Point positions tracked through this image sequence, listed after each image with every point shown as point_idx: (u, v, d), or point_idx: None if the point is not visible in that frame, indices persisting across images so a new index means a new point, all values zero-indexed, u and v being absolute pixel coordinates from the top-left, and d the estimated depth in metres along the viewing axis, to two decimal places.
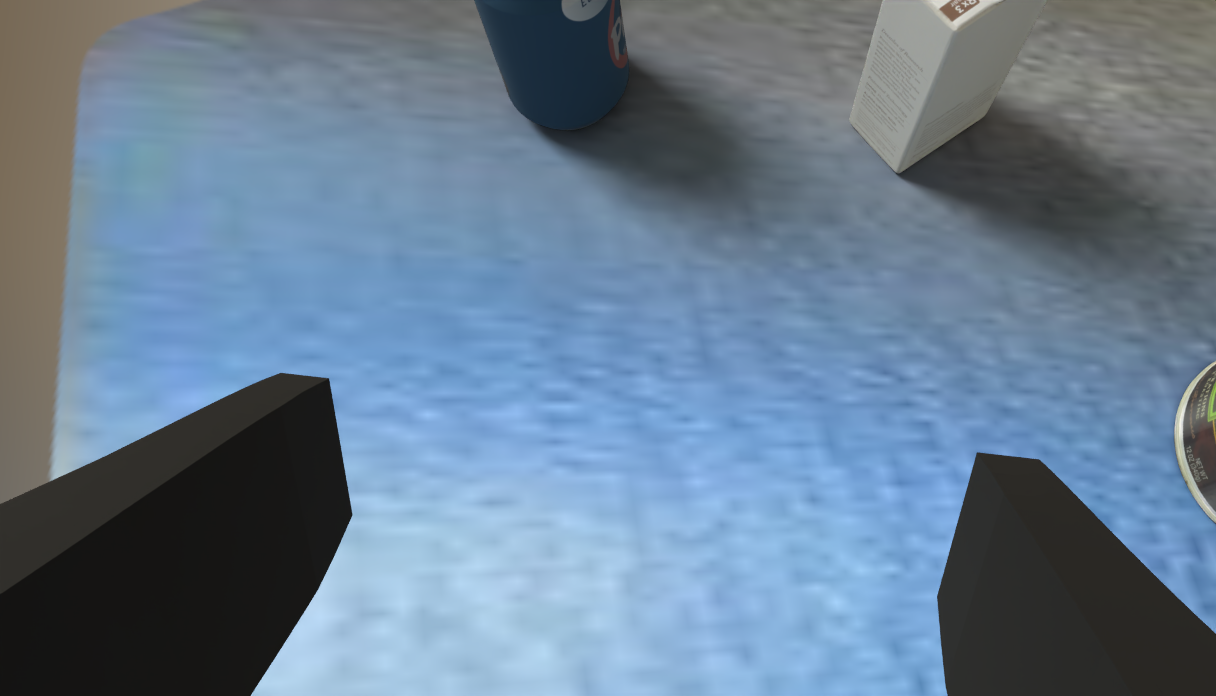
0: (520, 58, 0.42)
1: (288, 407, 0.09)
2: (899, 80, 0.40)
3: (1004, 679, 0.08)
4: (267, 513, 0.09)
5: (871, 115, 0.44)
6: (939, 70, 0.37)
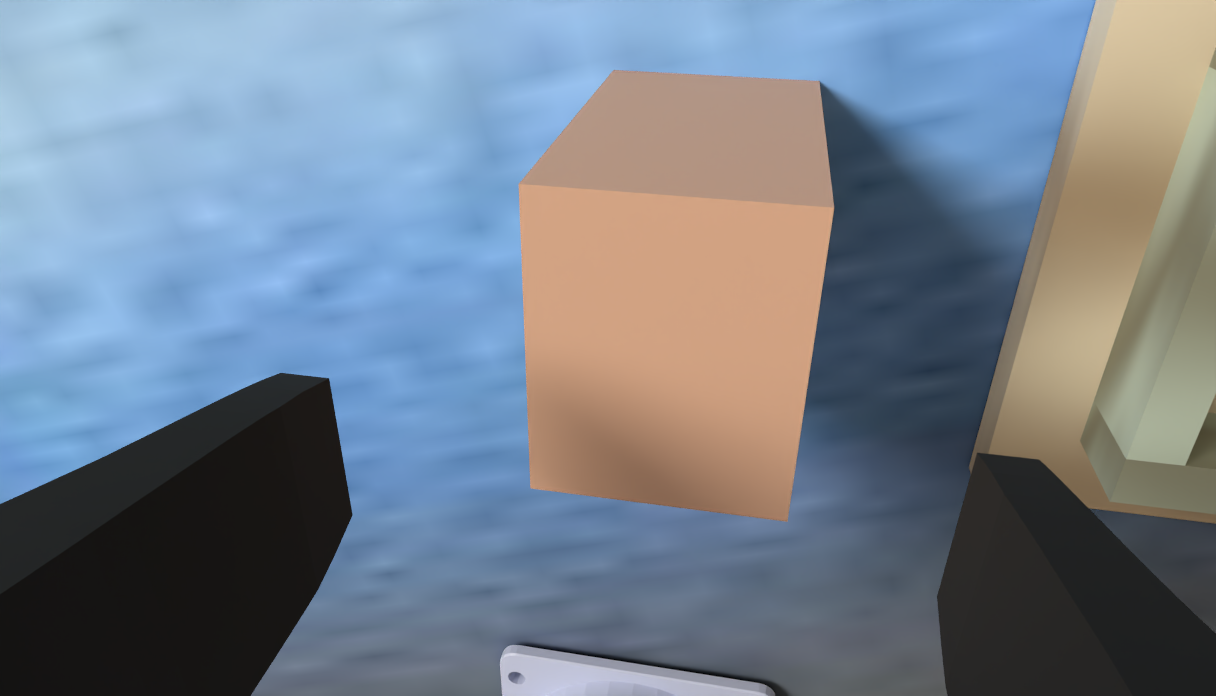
0: None
1: (288, 407, 0.09)
2: None
3: (1004, 679, 0.08)
4: (267, 513, 0.09)
5: None
6: None
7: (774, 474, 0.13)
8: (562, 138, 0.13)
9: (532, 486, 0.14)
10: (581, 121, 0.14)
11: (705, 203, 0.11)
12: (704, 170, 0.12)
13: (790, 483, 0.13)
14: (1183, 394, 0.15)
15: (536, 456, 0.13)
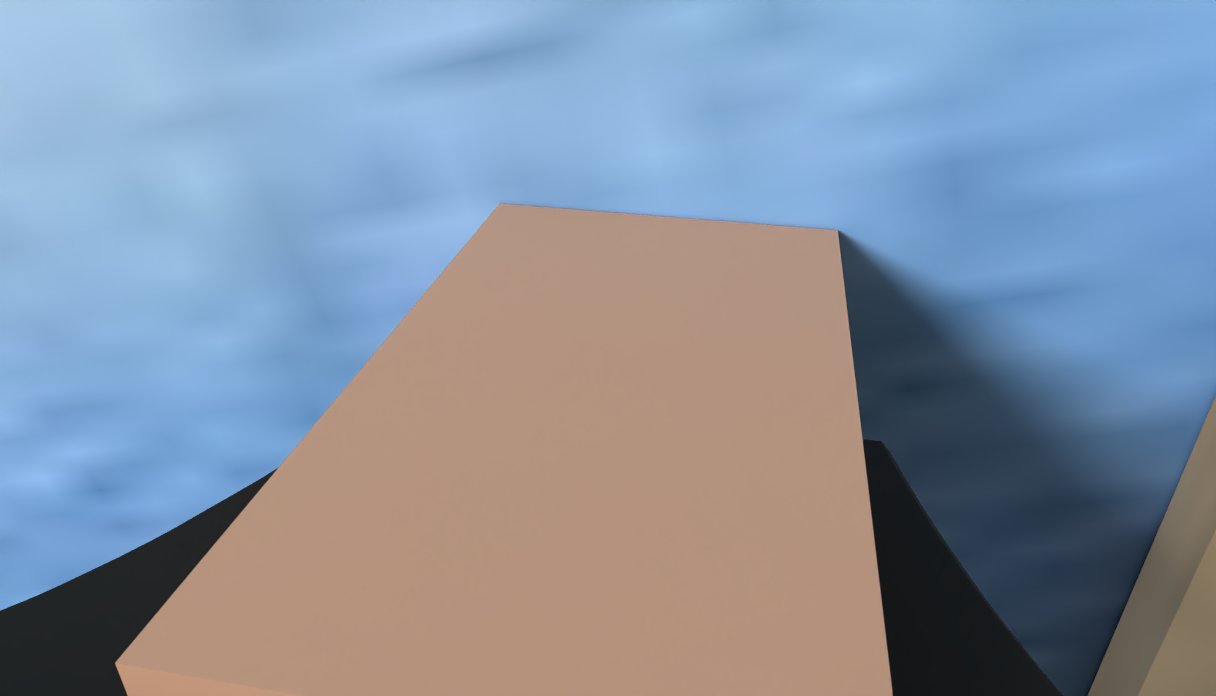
0: None
1: None
2: None
3: None
4: None
5: None
6: None
7: None
8: (320, 432, 0.06)
9: None
10: (384, 366, 0.07)
11: None
12: (587, 576, 0.05)
13: None
14: None
15: None
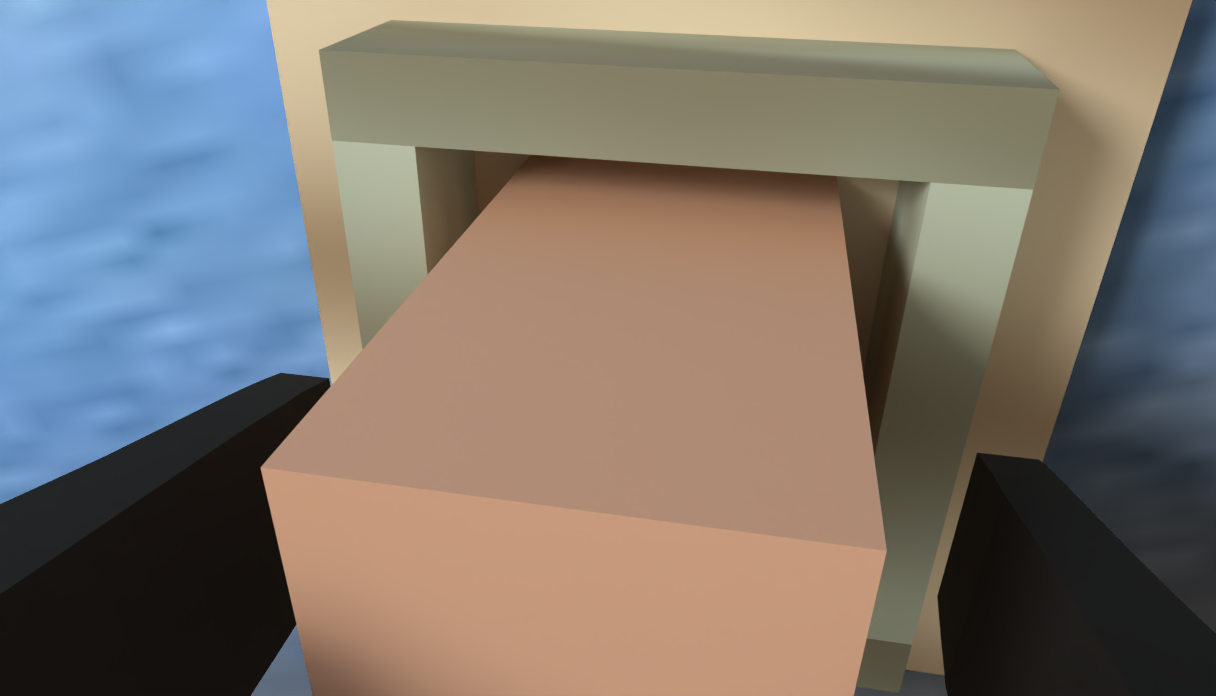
0: None
1: (288, 407, 0.09)
2: None
3: (1004, 679, 0.08)
4: (267, 513, 0.09)
5: None
6: None
7: None
8: (398, 319, 0.08)
9: None
10: (446, 273, 0.08)
11: (624, 525, 0.05)
12: (631, 415, 0.06)
13: None
14: None
15: None
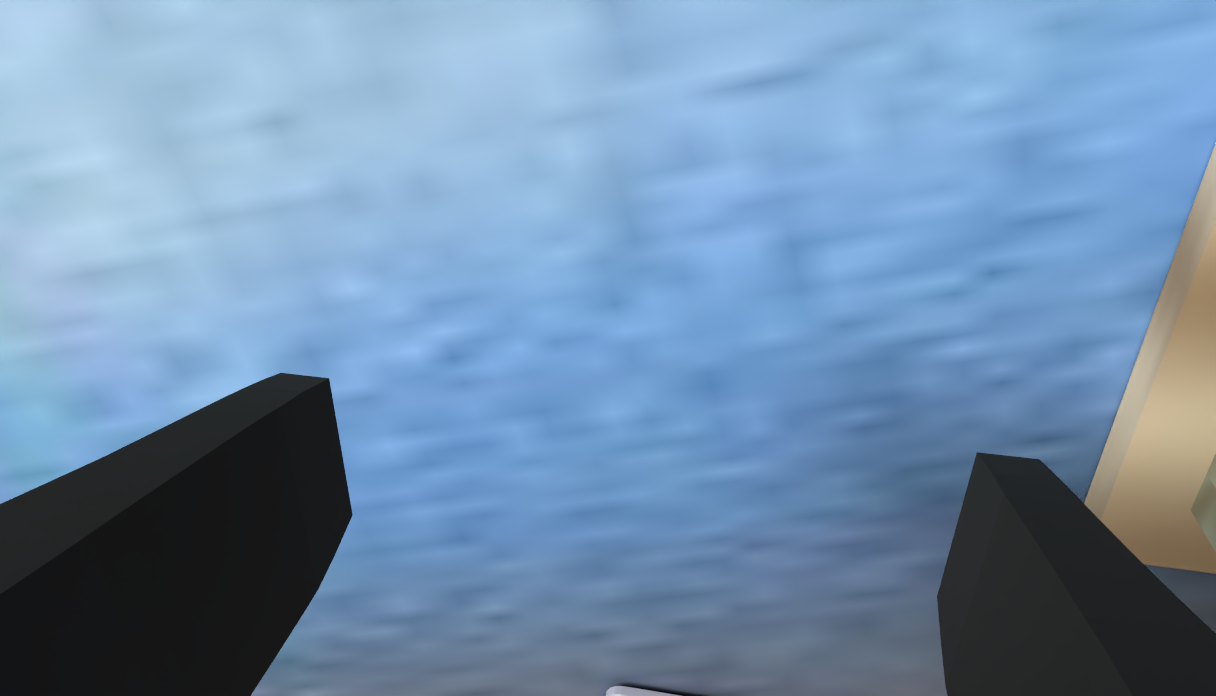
0: None
1: (288, 407, 0.09)
2: None
3: (1004, 679, 0.08)
4: (267, 513, 0.09)
5: None
6: None
7: None
8: None
9: None
10: None
11: None
12: None
13: None
14: None
15: None
